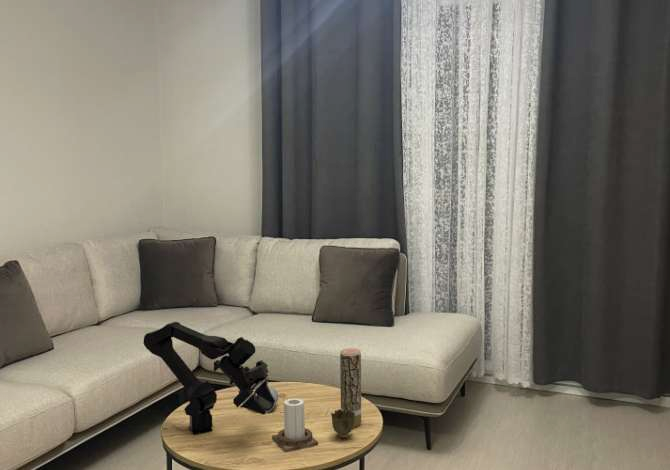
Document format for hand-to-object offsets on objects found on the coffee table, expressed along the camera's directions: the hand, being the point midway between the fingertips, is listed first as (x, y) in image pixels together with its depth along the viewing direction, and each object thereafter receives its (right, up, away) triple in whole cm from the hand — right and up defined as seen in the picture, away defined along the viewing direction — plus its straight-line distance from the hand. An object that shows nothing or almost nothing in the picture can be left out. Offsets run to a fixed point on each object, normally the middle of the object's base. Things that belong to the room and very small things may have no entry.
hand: (269, 408), depth 213 cm
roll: (+8, -9, -1) cm, 12 cm away
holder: (+8, -10, 0) cm, 13 cm away
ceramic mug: (-5, -8, +27) cm, 29 cm away
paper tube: (+26, -9, +13) cm, 30 cm away
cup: (+23, -10, +3) cm, 25 cm away
